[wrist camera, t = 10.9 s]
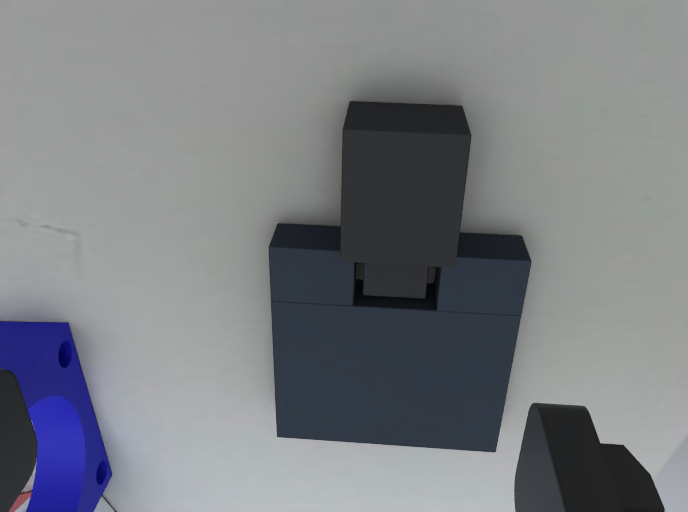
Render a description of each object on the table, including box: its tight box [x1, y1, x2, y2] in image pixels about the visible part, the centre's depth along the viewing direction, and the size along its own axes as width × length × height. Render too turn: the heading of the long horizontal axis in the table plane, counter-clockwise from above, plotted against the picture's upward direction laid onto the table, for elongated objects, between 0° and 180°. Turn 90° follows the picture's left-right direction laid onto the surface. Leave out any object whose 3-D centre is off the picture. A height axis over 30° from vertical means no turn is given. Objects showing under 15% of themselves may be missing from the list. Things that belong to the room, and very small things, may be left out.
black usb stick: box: [340, 101, 471, 298], centre depth 29 cm, size 9×5×4 cm, turn 179°
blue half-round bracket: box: [0, 322, 112, 512], centre depth 36 cm, size 12×4×6 cm, turn 2°
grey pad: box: [269, 224, 531, 452], centre depth 33 cm, size 12×12×2 cm
